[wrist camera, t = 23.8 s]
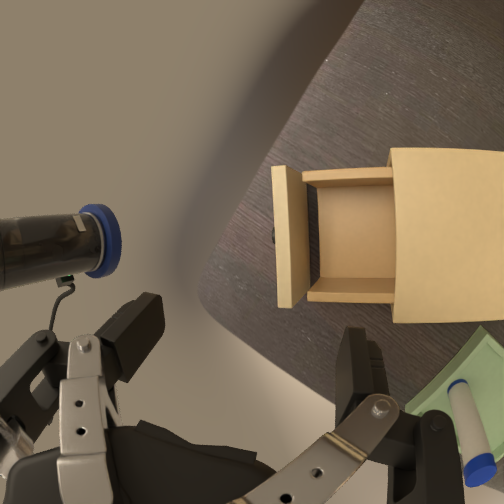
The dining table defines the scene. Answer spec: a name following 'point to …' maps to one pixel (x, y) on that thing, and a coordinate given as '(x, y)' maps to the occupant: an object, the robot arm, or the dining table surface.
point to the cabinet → (448, 235)
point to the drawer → (336, 235)
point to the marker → (471, 435)
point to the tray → (471, 387)
